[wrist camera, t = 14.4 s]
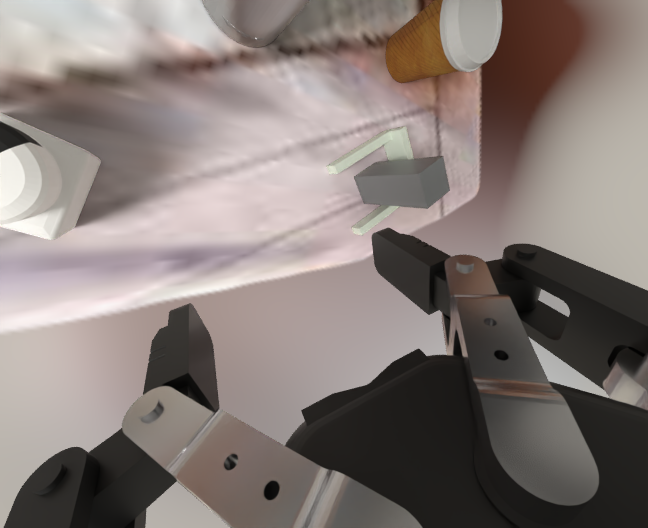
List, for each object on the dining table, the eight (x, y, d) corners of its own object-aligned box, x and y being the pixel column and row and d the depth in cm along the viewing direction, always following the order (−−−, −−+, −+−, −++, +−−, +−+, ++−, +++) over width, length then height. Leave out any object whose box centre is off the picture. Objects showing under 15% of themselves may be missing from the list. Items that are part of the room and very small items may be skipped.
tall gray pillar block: (363, 203, 44) (427, 208, 34) (353, 176, 42) (418, 174, 32) (383, 188, 45) (450, 189, 35) (375, 162, 43) (443, 155, 33)
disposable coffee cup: (431, 60, 44) (512, 24, 34) (402, 109, 43) (477, 87, 34) (399, 1, 39) (485, -62, 29) (365, 56, 38) (443, 11, 28)
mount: (354, 233, 44) (370, 237, 41) (326, 166, 39) (343, 164, 35) (404, 195, 48) (423, 196, 45) (385, 129, 43) (405, 125, 39)
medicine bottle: (-41, 195, 22) (-189, 203, 12) (-8, 112, 22) (-129, 52, 12) (74, 229, 26) (32, 256, 16) (102, 159, 26) (78, 143, 16)
